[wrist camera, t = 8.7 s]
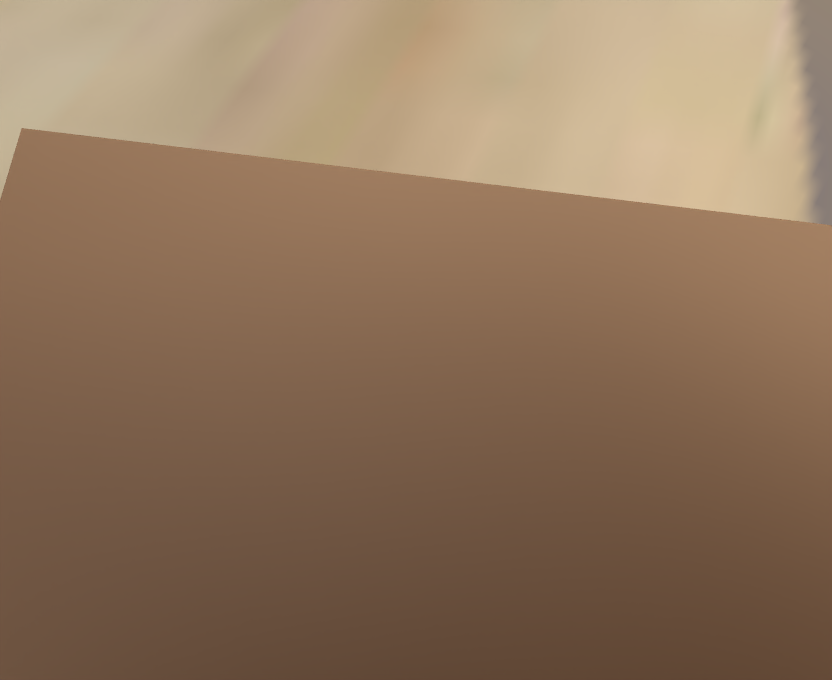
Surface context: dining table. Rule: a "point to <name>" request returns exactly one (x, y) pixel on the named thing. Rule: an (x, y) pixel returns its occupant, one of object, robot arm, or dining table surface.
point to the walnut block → (403, 427)
